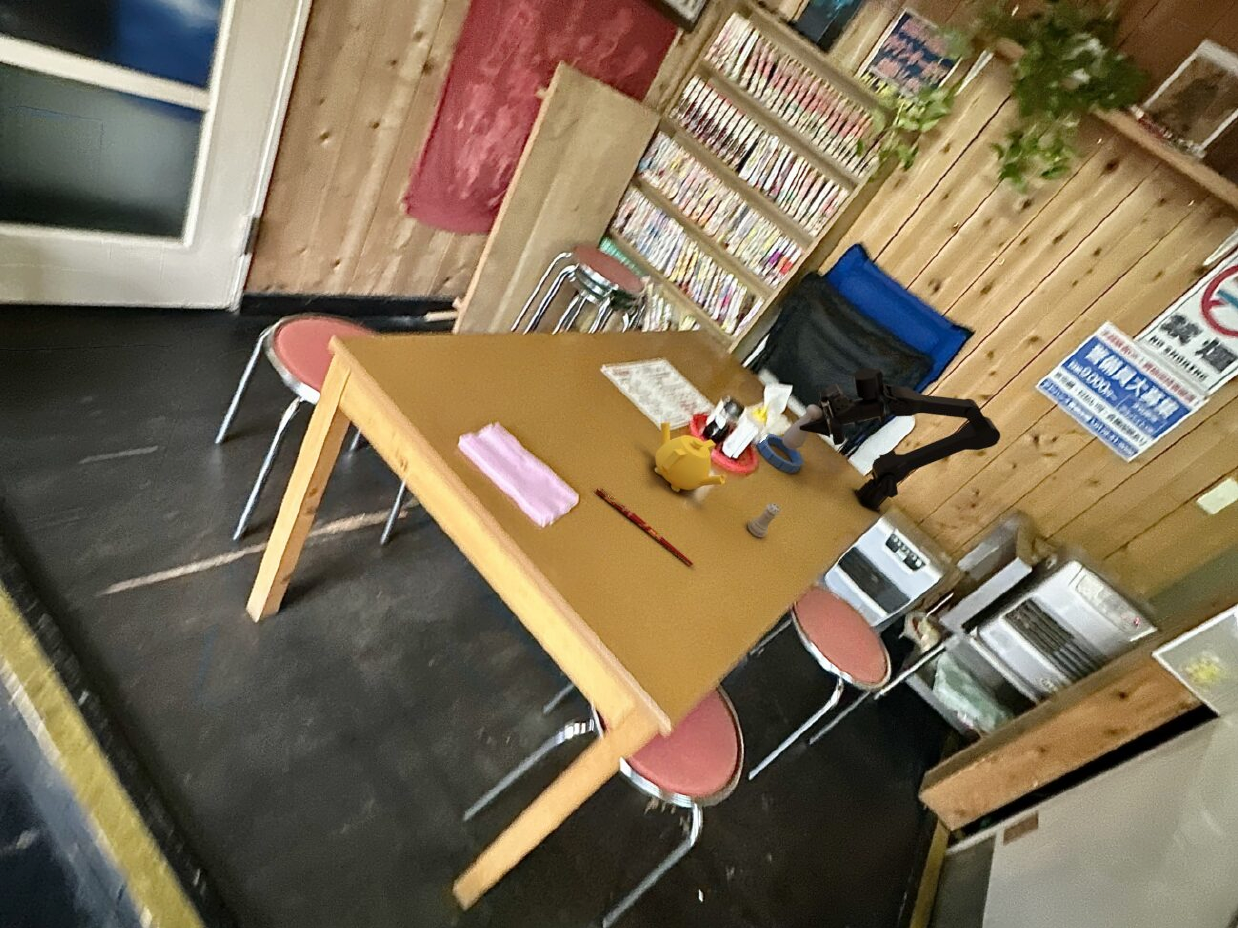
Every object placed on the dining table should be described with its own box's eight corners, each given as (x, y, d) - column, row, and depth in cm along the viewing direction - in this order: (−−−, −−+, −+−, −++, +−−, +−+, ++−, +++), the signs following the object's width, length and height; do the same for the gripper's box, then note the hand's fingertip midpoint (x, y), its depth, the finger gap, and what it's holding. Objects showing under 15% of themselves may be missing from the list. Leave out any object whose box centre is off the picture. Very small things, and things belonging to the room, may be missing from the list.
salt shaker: (791, 454, 196) (820, 416, 189) (775, 439, 198) (804, 402, 191) (801, 450, 201) (830, 414, 194) (785, 436, 203) (814, 399, 196)
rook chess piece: (753, 538, 165) (774, 513, 161) (743, 523, 168) (763, 498, 163) (767, 538, 168) (787, 514, 164) (756, 523, 170) (776, 499, 166)
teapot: (724, 499, 171) (751, 464, 166) (682, 517, 158) (710, 480, 152) (666, 442, 179) (689, 406, 173) (621, 454, 165) (645, 416, 159)
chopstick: (690, 567, 145) (692, 564, 145) (595, 491, 149) (597, 488, 149) (693, 563, 147) (696, 560, 147) (599, 488, 151) (601, 484, 150)
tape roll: (791, 450, 210) (796, 443, 208) (803, 478, 200) (808, 472, 198) (753, 434, 205) (758, 427, 204) (763, 463, 195) (769, 456, 194)
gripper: (847, 366, 196) (788, 381, 199) (862, 401, 180) (797, 417, 184) (853, 402, 201) (796, 416, 205) (868, 439, 186) (805, 453, 190)
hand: (798, 424), depth 196 cm, fingers closed on salt shaker, 3 cm apart
